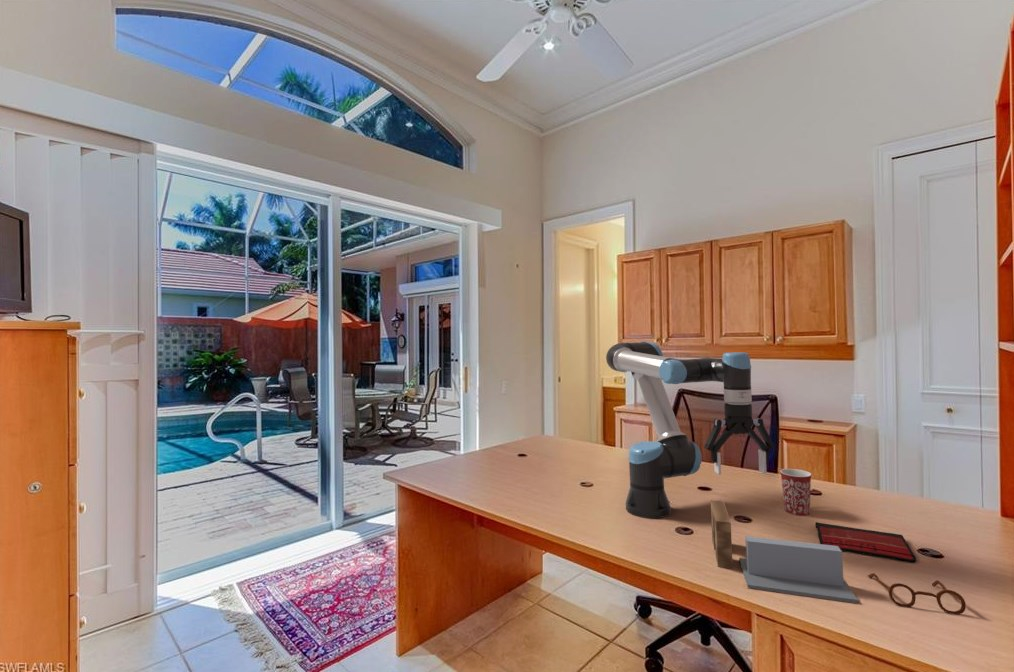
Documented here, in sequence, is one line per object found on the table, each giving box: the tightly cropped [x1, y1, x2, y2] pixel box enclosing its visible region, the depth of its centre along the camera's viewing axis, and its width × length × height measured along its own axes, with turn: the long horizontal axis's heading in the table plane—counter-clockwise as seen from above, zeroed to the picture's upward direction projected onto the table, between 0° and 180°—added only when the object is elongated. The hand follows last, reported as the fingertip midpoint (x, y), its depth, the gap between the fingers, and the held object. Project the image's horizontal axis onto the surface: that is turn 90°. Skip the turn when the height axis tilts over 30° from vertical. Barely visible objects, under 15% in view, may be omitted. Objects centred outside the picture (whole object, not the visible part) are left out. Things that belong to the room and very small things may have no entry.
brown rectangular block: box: [710, 500, 733, 569], centre depth 125 cm, size 4×16×12 cm, turn 160°
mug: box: [779, 468, 813, 517], centre depth 154 cm, size 13×9×14 cm
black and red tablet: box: [814, 521, 918, 564], centre depth 128 cm, size 16×2×21 cm
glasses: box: [867, 572, 967, 615], centre depth 103 cm, size 13×13×5 cm
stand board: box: [738, 535, 859, 605], centre depth 110 cm, size 22×14×9 cm, turn 70°
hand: (740, 472), depth 136 cm, fingers open, 13 cm apart
